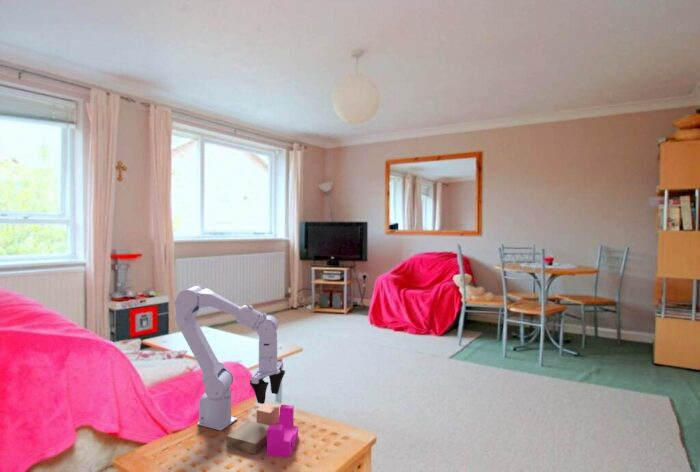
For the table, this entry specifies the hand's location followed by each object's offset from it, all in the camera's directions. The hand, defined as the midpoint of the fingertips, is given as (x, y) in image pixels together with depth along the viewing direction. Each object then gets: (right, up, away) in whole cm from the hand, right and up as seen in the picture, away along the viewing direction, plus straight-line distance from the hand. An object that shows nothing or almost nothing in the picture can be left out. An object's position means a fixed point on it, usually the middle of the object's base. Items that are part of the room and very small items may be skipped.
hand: (268, 398), depth 131 cm
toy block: (+7, -9, -10) cm, 15 cm away
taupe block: (-3, -9, -11) cm, 14 cm away
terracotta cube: (0, -8, 0) cm, 8 cm away
